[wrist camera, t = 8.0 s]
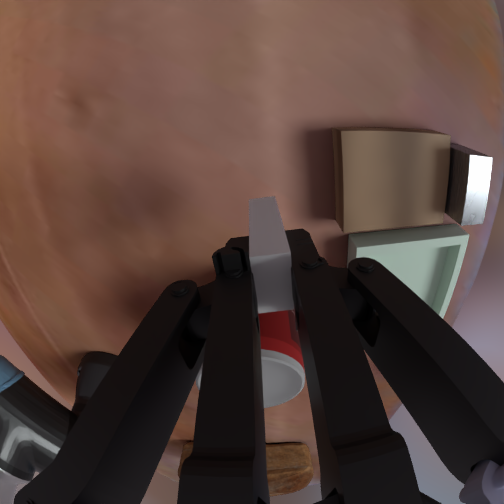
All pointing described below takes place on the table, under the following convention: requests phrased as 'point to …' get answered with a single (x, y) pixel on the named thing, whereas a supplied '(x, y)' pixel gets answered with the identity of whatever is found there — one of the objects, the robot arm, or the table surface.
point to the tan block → (389, 177)
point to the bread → (279, 466)
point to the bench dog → (467, 185)
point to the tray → (417, 258)
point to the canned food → (278, 358)
